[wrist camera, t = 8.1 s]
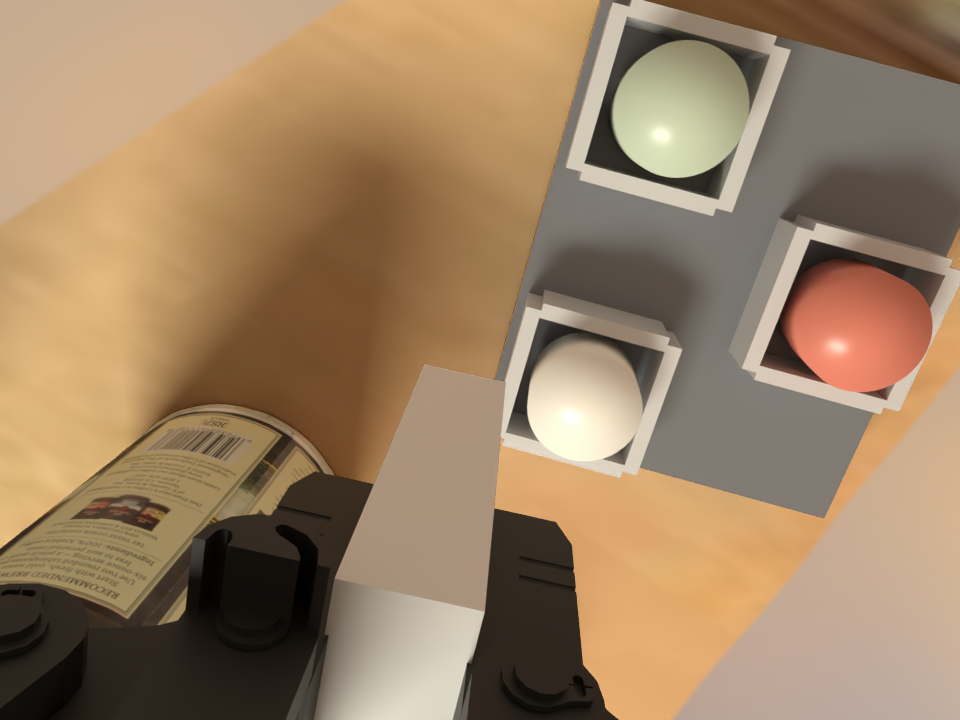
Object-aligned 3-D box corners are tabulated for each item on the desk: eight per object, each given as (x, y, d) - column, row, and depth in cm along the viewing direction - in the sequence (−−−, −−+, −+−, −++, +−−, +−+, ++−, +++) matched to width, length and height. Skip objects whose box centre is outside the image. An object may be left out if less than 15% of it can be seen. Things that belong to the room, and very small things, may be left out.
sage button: (595, 154, 24) (599, 159, 21) (630, 33, 23) (639, 24, 20) (705, 184, 24) (722, 192, 21) (747, 64, 23) (769, 59, 20)
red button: (763, 349, 25) (784, 373, 23) (805, 245, 24) (831, 260, 22) (868, 378, 25) (900, 405, 23) (915, 275, 24) (954, 293, 22)
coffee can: (188, 630, 36) (-29, 932, 23) (85, 440, 33) (-229, 657, 20) (385, 577, 34) (273, 876, 21) (292, 372, 31) (96, 562, 18)
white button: (518, 414, 27) (514, 444, 24) (546, 320, 26) (544, 341, 23) (616, 442, 27) (622, 474, 24) (649, 348, 26) (658, 372, 23)
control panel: (490, 395, 31) (477, 446, 26) (599, 2, 26) (608, -22, 21) (799, 481, 31) (843, 548, 26) (968, 101, 26) (1059, 99, 21)
